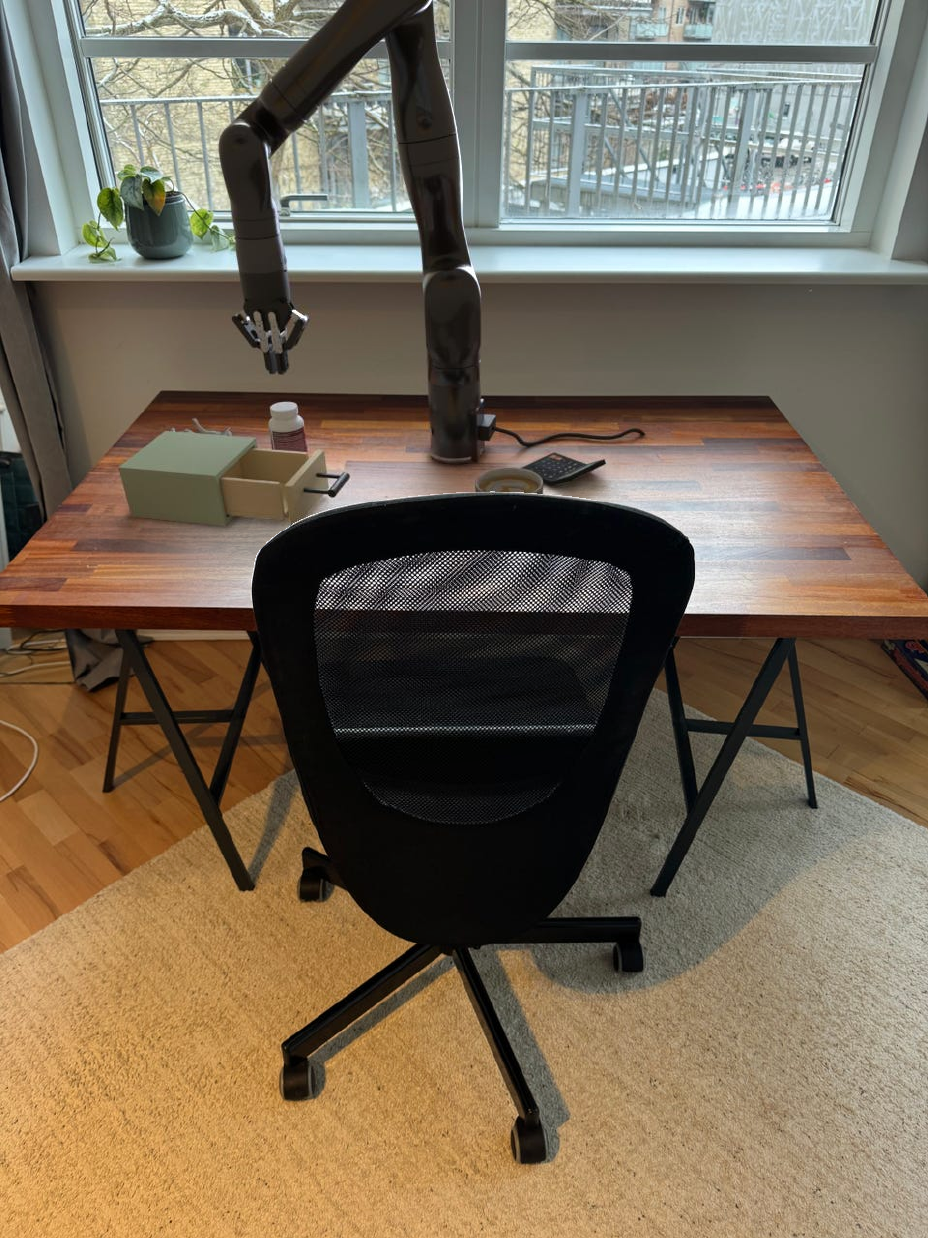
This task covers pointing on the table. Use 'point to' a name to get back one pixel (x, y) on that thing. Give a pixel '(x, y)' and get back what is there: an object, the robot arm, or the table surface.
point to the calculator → (561, 468)
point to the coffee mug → (509, 481)
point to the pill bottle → (287, 428)
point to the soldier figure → (227, 432)
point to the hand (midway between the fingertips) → (278, 372)
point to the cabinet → (182, 476)
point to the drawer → (277, 484)
